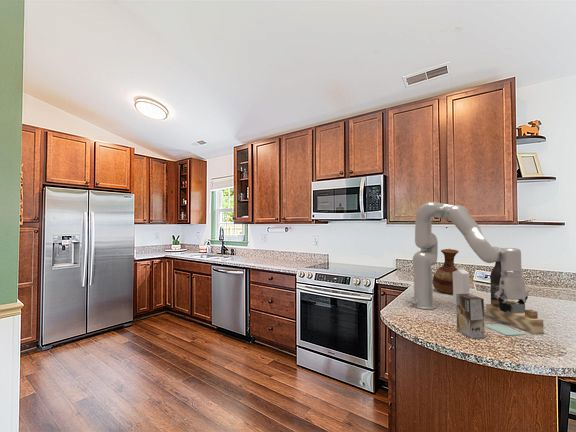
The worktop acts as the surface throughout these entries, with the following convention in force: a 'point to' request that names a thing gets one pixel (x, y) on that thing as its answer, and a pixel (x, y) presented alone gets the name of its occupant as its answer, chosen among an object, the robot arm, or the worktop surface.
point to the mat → (504, 329)
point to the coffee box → (470, 315)
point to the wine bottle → (495, 280)
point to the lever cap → (515, 307)
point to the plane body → (516, 318)
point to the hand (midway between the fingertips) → (512, 310)
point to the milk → (460, 282)
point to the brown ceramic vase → (445, 272)
